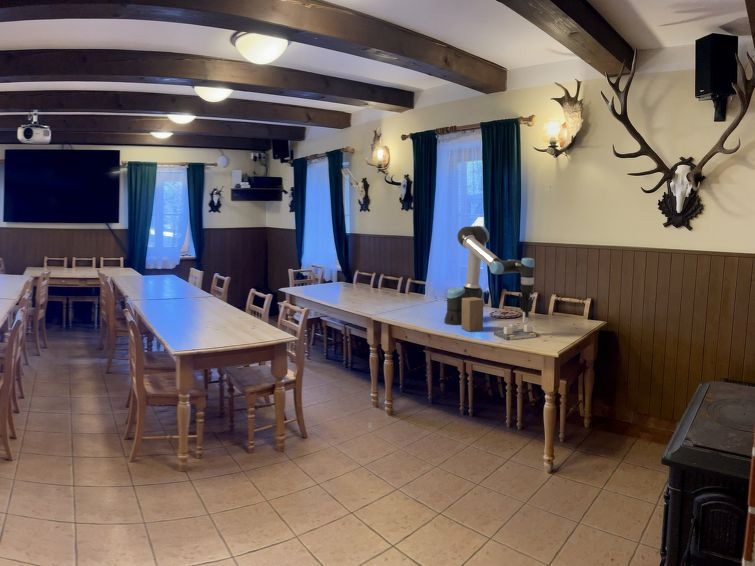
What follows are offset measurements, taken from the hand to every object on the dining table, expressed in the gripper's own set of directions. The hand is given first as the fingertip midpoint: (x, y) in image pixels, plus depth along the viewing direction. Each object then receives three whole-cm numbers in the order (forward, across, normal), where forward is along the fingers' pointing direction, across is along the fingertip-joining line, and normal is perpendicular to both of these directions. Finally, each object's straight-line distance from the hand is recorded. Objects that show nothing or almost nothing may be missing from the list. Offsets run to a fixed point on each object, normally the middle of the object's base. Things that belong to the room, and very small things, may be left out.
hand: (525, 322), depth 311 cm
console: (+8, +1, -7) cm, 10 cm away
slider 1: (+5, +3, -14) cm, 15 cm away
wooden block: (+8, -23, -23) cm, 34 cm away
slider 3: (+5, +3, 0) cm, 6 cm away
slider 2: (+5, -1, -7) cm, 9 cm away
